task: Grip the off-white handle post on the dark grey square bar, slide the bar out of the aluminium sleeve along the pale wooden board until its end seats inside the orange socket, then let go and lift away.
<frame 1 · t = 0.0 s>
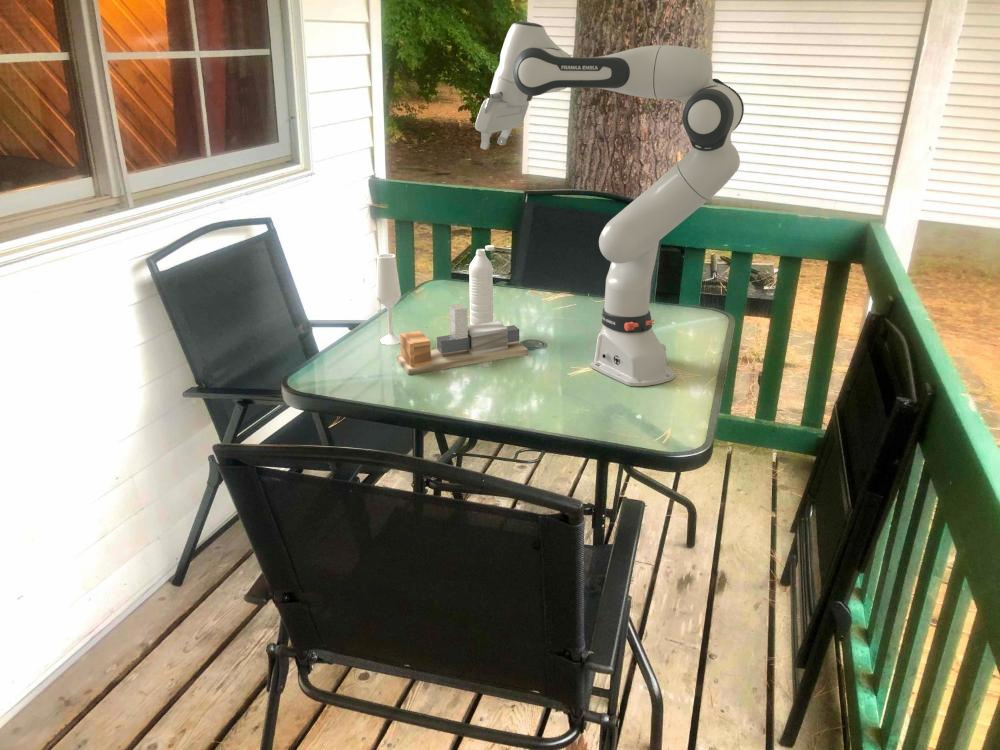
hand: (492, 146, 193), 52 cm above the table, tool tilted 20°, fingers open, 8 cm apart
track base: (485, 353, 205), on the table
water bottle: (484, 336, 217), on the table
slider with upright handle: (478, 324, 200), point 8 cm above the table, slide at 0.0 cm
champagne flute: (391, 341, 214), on the table
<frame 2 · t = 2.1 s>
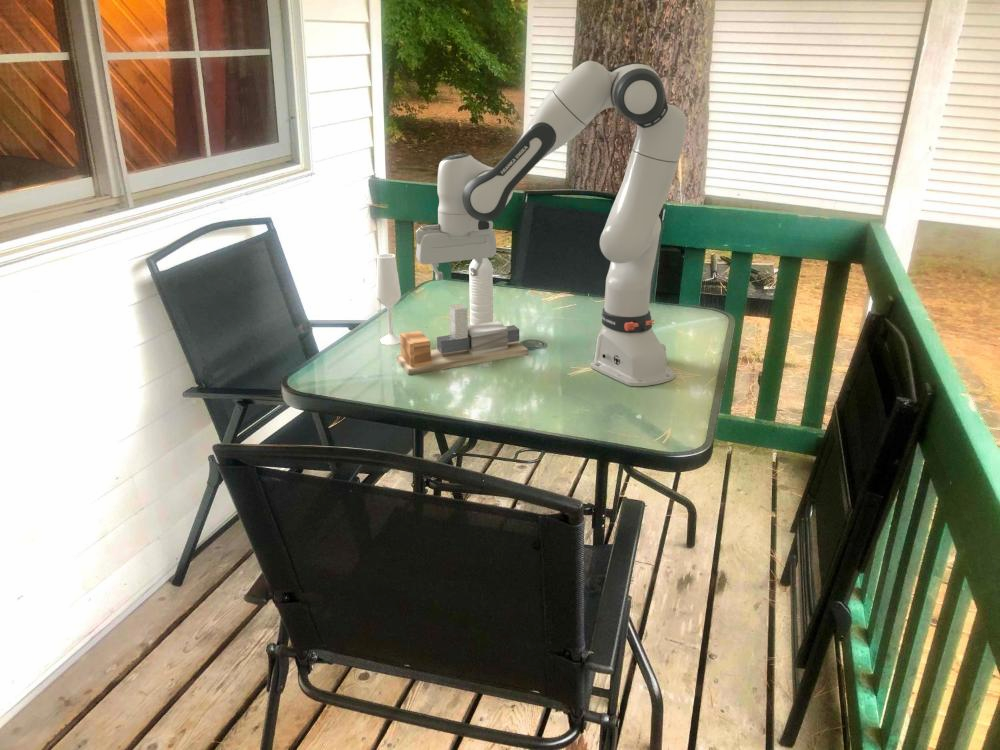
hand: (456, 277, 193), 22 cm above the table, tool pointing down, fingers open, 8 cm apart
nothing on the table moved.
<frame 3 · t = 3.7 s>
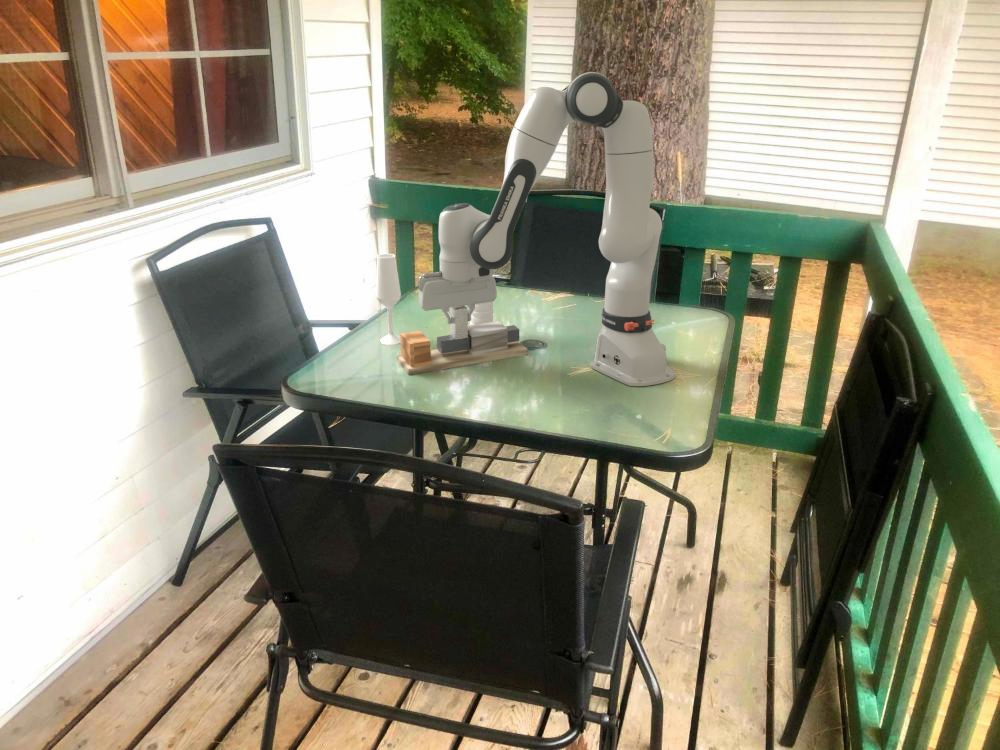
hand: (458, 321, 198), 10 cm above the table, tool pointing down, fingers closed on slider with upright handle, 3 cm apart
slider with upright handle: (478, 324, 200), point 9 cm above the table, slide at 0.0 cm, touching gripper
everything else where it was.
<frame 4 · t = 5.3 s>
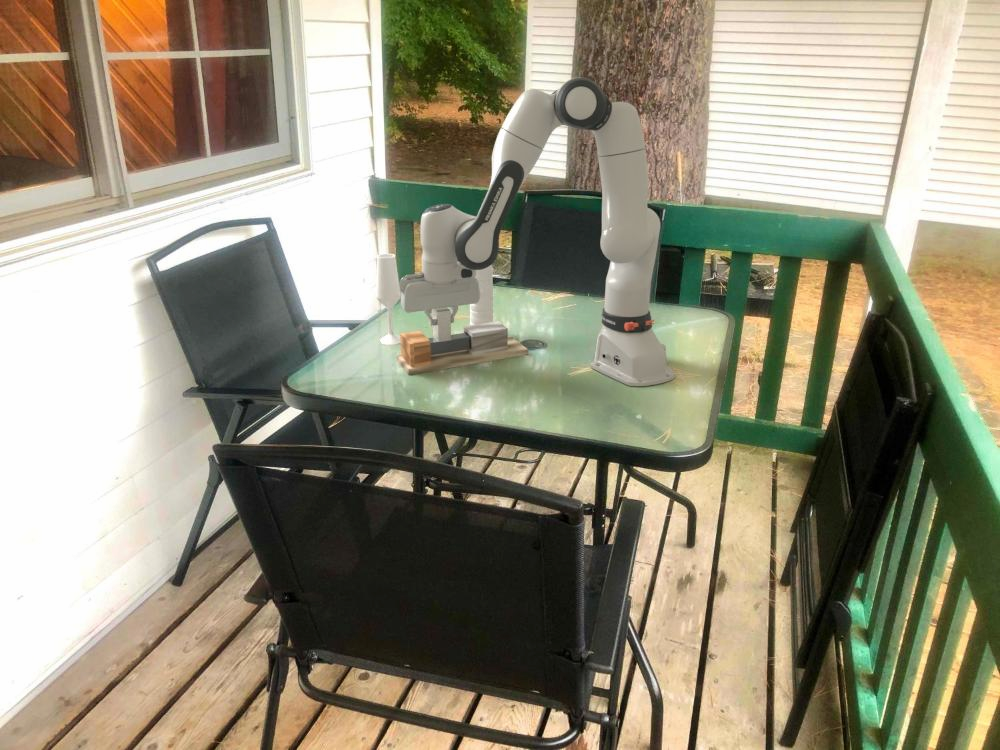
hand: (441, 323, 196), 10 cm above the table, tool pointing down, fingers closed on slider with upright handle, 3 cm apart
slider with upright handle: (461, 327, 199), point 8 cm above the table, slide at 4.6 cm, touching gripper
everything else where it was.
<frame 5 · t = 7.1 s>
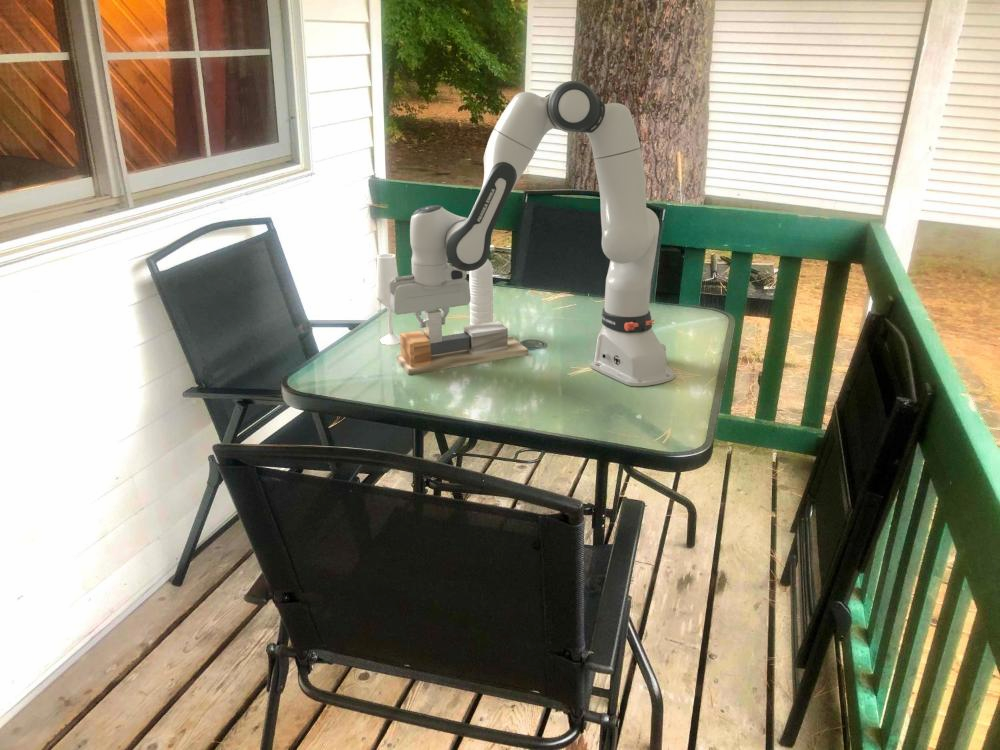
hand: (432, 325, 195), 10 cm above the table, tool pointing down, fingers open, 4 cm apart
slider with upright handle: (453, 328, 198), point 8 cm above the table, slide at 7.0 cm, touching gripper
everything else where it was.
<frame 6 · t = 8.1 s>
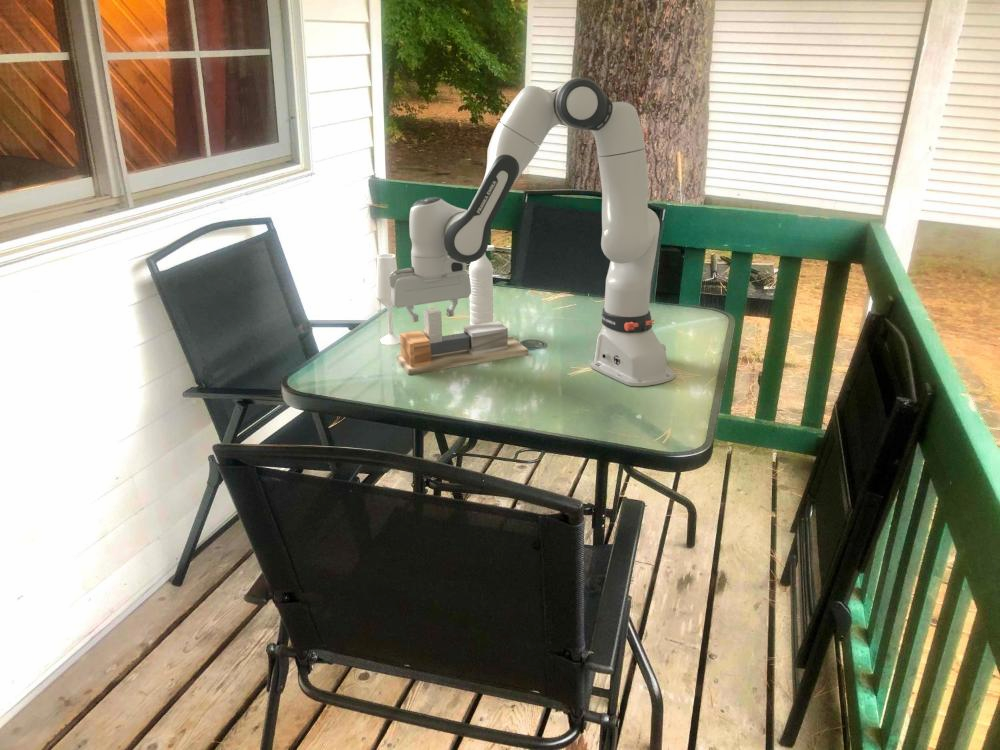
hand: (432, 318, 194), 12 cm above the table, tool pointing down, fingers open, 8 cm apart
slider with upright handle: (453, 328, 198), point 8 cm above the table, slide at 7.0 cm
everything else where it was.
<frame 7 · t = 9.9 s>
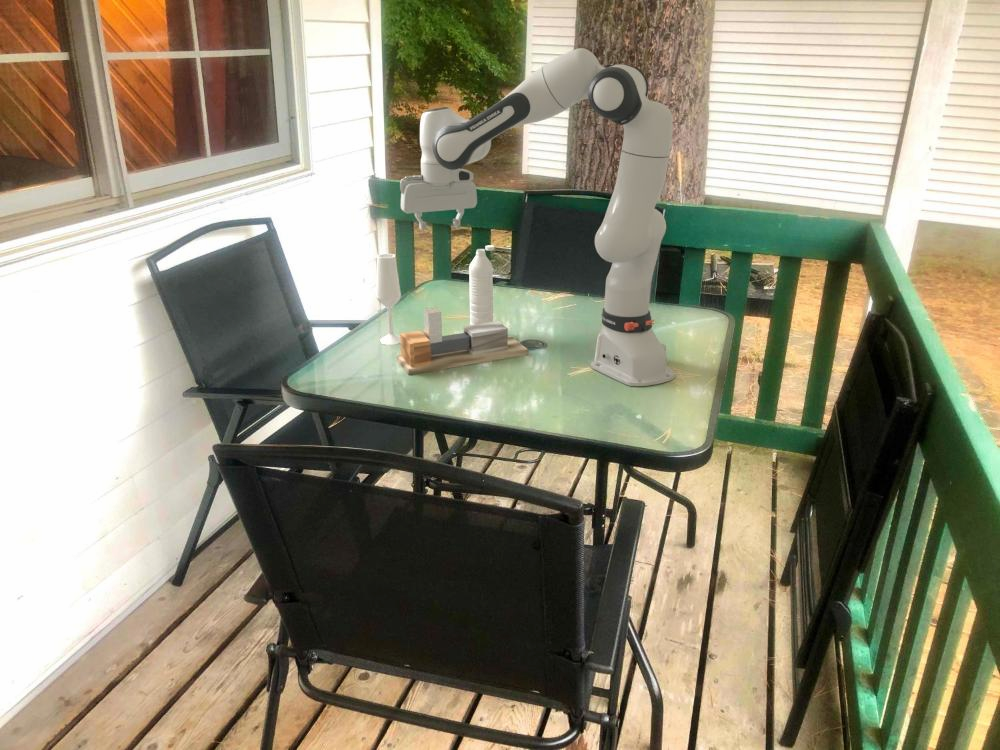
hand: (439, 227, 203), 31 cm above the table, tool pointing down, fingers open, 8 cm apart
nothing on the table moved.
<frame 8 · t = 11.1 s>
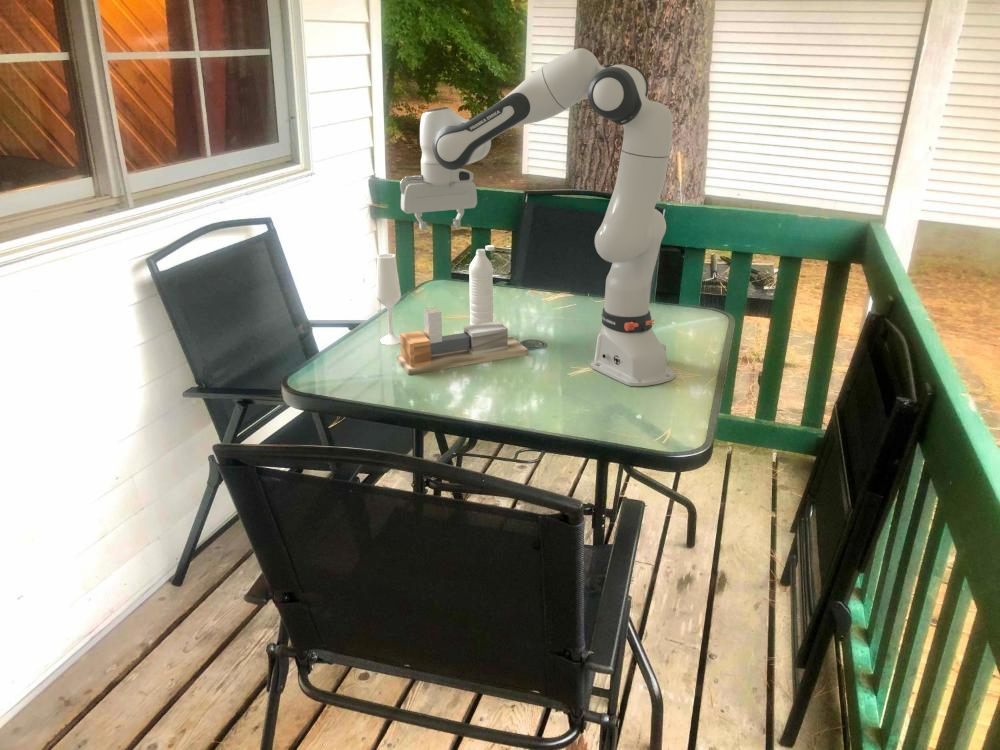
hand: (440, 227, 203), 31 cm above the table, tool pointing down, fingers open, 8 cm apart
nothing on the table moved.
at the end: slider with upright handle slide at 7.0 cm; the gripper is holding nothing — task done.
